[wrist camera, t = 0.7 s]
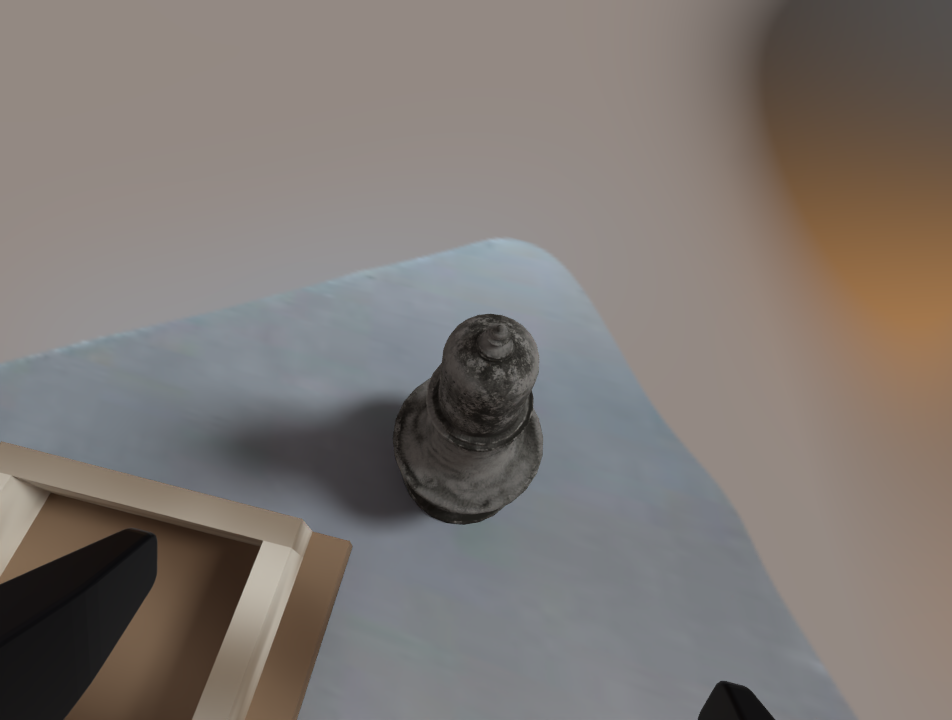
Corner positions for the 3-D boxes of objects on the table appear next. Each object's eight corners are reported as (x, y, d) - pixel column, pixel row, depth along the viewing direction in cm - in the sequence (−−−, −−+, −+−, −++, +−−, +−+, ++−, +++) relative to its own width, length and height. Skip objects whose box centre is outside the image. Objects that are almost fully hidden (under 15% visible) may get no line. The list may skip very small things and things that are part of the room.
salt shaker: (378, 513, 23) (353, 401, 13) (414, 389, 26) (418, 214, 16) (513, 546, 23) (600, 462, 13) (536, 419, 26) (622, 264, 16)
